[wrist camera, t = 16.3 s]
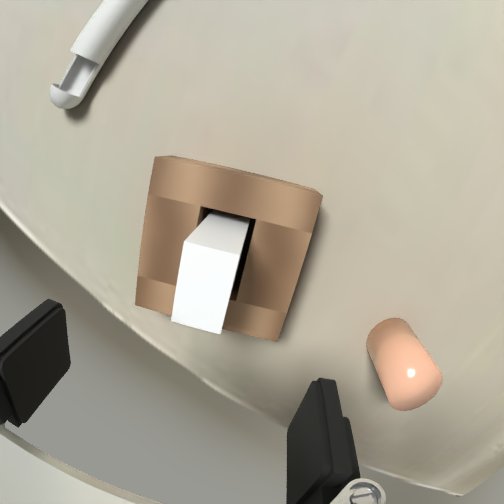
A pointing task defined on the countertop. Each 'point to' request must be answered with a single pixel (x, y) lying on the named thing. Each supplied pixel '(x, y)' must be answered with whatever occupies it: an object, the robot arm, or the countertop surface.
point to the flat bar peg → (209, 271)
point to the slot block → (260, 249)
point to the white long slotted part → (94, 49)
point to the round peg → (403, 364)
